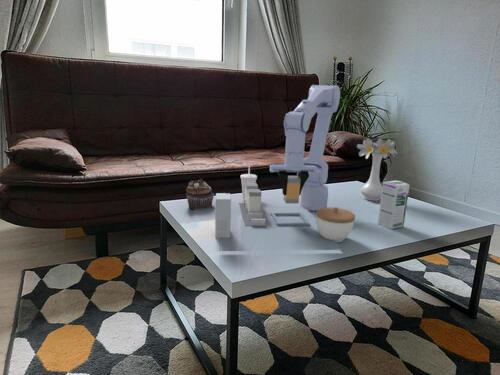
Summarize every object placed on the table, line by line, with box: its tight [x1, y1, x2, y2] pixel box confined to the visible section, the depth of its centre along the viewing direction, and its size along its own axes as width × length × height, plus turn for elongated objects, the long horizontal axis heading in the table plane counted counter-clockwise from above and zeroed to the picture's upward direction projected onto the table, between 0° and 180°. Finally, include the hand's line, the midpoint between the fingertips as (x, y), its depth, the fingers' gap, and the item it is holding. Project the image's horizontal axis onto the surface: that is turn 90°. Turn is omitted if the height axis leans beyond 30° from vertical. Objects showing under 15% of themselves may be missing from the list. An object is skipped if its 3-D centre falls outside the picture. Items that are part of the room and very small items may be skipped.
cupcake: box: [185, 178, 215, 211], centre depth 121 cm, size 10×10×10 cm
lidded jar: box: [315, 206, 356, 243], centre depth 99 cm, size 11×11×9 cm
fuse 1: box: [245, 182, 259, 206], centre depth 122 cm, size 4×4×8 cm
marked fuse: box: [283, 175, 301, 205], centre depth 109 cm, size 4×4×8 cm
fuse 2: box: [247, 188, 262, 213], centre depth 115 cm, size 4×4×8 cm
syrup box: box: [377, 180, 411, 230], centre depth 111 cm, size 6×6×14 cm
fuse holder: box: [238, 198, 272, 227], centre depth 116 cm, size 8×23×3 cm, turn 7°
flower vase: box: [356, 137, 399, 202], centre depth 139 cm, size 13×18×25 cm
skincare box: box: [214, 192, 232, 239], centre depth 97 cm, size 6×4×12 cm
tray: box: [271, 212, 310, 227], centre depth 111 cm, size 10×10×2 cm
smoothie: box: [240, 163, 258, 200], centre depth 132 cm, size 6×6×14 cm
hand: (291, 194), depth 109 cm, fingers closed on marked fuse, 4 cm apart
